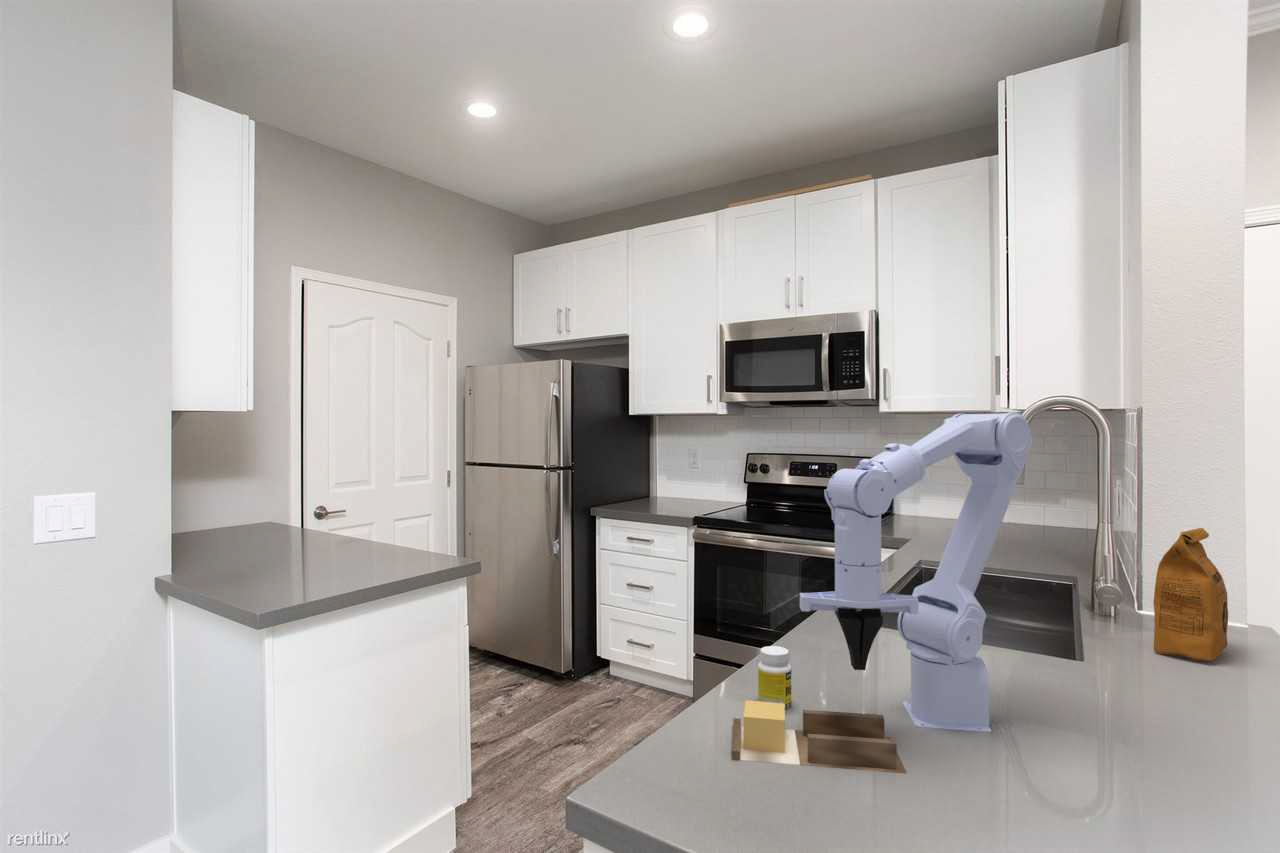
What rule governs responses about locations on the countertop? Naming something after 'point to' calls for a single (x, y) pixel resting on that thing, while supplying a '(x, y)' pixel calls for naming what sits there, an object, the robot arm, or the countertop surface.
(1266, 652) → the countertop surface
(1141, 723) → the countertop surface
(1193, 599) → the coffee package
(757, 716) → the ochre block
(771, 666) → the supplement bottle
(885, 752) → the walnut chute
